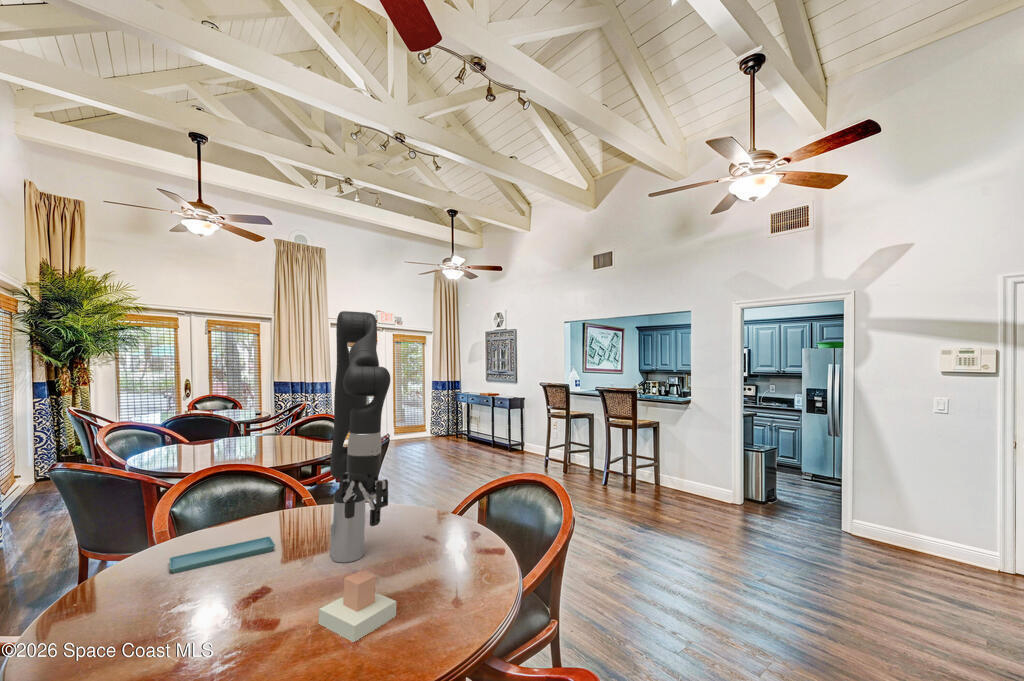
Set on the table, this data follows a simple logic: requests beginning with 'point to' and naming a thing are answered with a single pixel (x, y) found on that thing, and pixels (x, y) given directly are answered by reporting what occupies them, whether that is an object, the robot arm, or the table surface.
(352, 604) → the terracotta block
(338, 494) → the robot arm
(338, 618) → the sage base block
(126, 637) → the table surface
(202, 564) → the teal serving tray
